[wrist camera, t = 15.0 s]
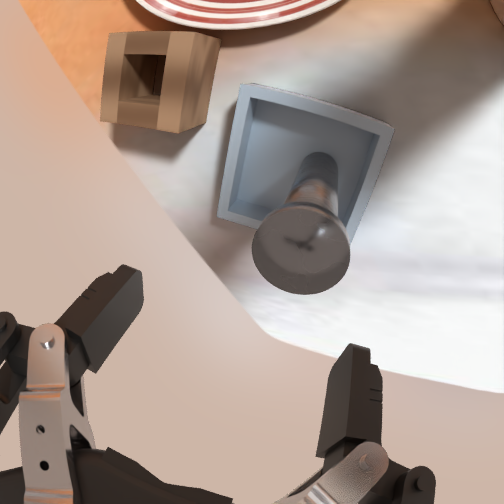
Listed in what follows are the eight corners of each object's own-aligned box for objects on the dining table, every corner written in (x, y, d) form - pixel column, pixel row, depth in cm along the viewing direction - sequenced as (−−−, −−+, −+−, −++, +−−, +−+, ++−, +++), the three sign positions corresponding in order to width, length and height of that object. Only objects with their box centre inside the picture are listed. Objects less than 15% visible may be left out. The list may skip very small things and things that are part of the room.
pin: (300, 137, 26) (263, 196, 14) (352, 154, 25) (365, 229, 13) (287, 185, 29) (244, 277, 17) (336, 201, 28) (329, 305, 16)
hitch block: (144, 36, 24) (109, 33, 19) (221, 39, 23) (195, 31, 18) (134, 111, 29) (100, 121, 24) (205, 122, 28) (178, 133, 23)
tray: (253, 83, 25) (240, 83, 22) (386, 122, 24) (394, 129, 20) (229, 201, 32) (216, 216, 29) (344, 237, 31) (344, 257, 28)
